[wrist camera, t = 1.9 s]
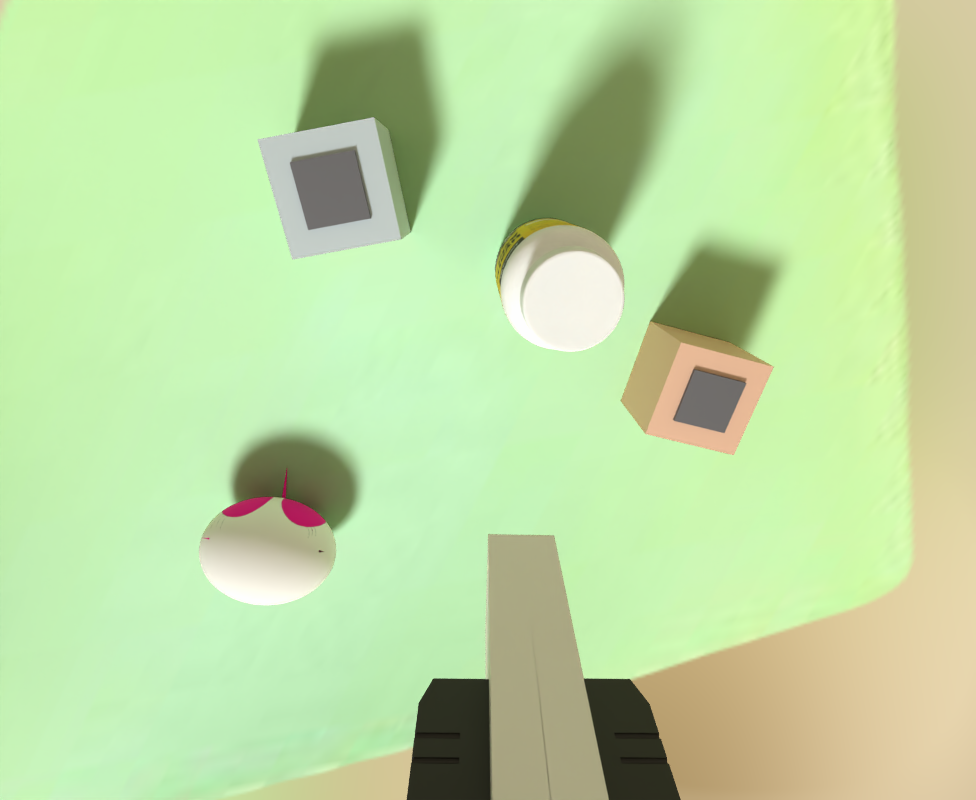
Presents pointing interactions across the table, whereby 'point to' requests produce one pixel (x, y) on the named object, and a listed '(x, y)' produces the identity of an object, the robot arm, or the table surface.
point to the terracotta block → (694, 388)
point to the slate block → (336, 187)
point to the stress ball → (267, 550)
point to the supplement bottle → (559, 284)
